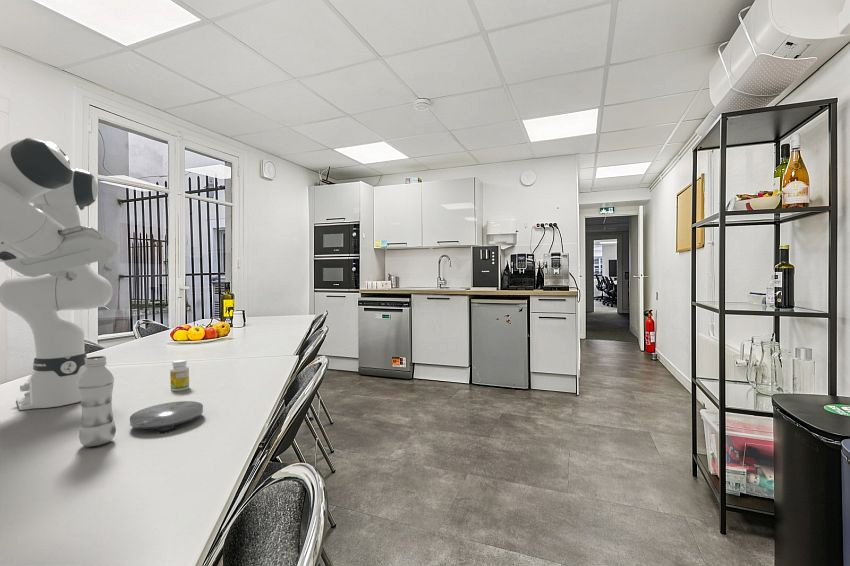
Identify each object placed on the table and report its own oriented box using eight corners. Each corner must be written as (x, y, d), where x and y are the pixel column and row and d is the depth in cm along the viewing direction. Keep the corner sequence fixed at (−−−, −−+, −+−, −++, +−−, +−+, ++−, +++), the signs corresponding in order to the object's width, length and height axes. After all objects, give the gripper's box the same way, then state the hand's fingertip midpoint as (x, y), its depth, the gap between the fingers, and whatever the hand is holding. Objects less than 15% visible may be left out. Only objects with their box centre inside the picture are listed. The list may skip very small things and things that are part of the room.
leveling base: (118, 426, 99) (117, 415, 99) (183, 408, 113) (183, 397, 113) (149, 440, 91) (149, 427, 91) (215, 418, 105) (215, 407, 105)
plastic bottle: (95, 451, 86) (93, 361, 85) (71, 449, 87) (68, 360, 86) (123, 439, 92) (121, 355, 91) (100, 437, 93) (98, 354, 93)
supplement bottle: (189, 389, 132) (189, 361, 132) (171, 392, 129) (170, 363, 129) (188, 385, 136) (187, 358, 136) (170, 388, 133) (169, 360, 133)
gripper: (90, 213, 83) (138, 253, 94) (-4, 236, 82) (55, 273, 94) (82, 235, 79) (133, 273, 91) (-17, 259, 79) (47, 294, 90)
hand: (93, 273), depth 92 cm, fingers open, 8 cm apart
